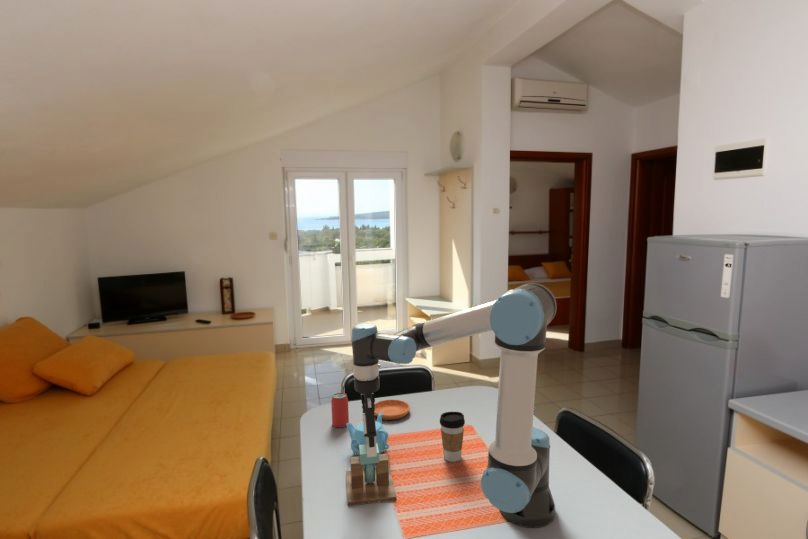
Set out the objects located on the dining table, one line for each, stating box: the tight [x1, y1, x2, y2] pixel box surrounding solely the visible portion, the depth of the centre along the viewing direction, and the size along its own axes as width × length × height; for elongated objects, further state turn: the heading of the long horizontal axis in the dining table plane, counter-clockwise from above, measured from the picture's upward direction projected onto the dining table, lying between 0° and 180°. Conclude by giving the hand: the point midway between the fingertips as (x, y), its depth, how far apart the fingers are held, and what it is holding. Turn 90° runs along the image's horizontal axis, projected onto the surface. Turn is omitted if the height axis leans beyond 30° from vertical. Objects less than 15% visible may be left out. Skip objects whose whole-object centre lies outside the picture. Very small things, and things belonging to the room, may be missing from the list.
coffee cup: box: [439, 411, 466, 463], centre depth 151 cm, size 8×8×15 cm
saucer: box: [374, 399, 411, 421], centre depth 187 cm, size 16×16×3 cm
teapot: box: [346, 412, 390, 457], centre depth 156 cm, size 15×14×11 cm
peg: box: [359, 443, 379, 483], centre depth 136 cm, size 6×6×10 cm
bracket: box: [345, 453, 398, 506], centre depth 136 cm, size 16×14×9 cm
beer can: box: [330, 392, 350, 428], centre depth 177 cm, size 7×7×12 cm
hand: (370, 444), depth 135 cm, fingers open, 13 cm apart
